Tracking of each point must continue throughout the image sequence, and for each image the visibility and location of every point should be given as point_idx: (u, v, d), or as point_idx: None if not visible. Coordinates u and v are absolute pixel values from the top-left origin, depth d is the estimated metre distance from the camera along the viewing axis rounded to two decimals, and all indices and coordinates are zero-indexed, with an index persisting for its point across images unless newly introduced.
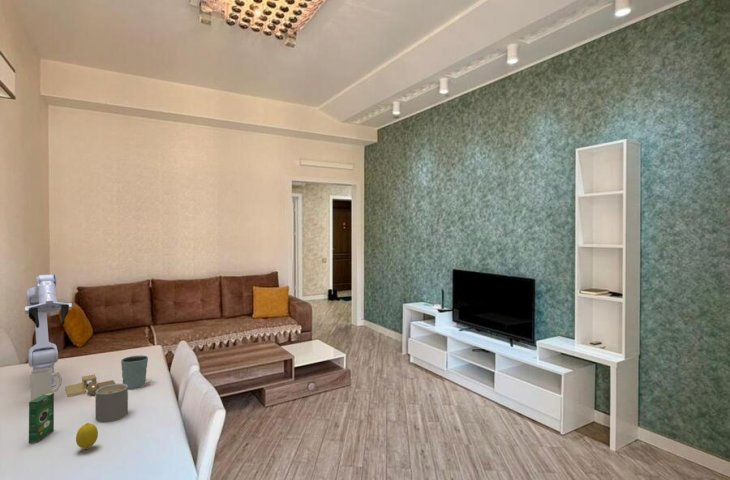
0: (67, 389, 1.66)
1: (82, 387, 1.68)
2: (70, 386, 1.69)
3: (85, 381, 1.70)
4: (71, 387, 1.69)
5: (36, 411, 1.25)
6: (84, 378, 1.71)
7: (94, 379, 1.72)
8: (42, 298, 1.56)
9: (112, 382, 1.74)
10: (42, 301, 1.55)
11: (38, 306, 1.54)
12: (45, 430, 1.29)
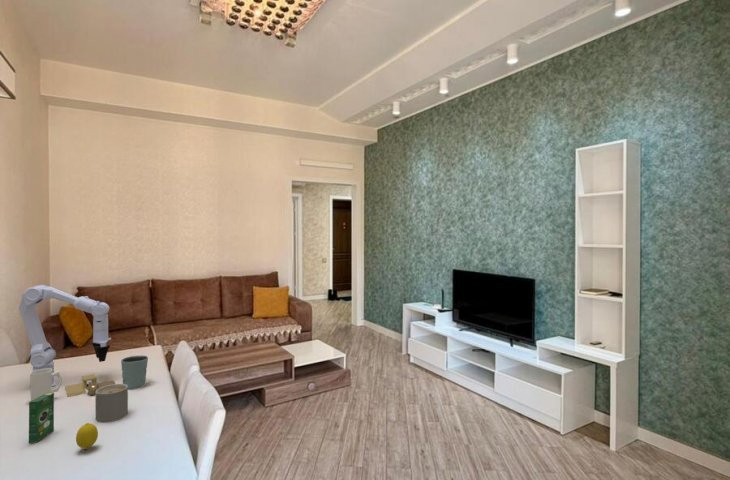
0: (67, 389, 1.66)
1: (82, 387, 1.68)
2: (70, 386, 1.69)
3: (85, 381, 1.70)
4: (71, 387, 1.69)
5: (36, 411, 1.25)
6: (84, 378, 1.71)
7: (94, 379, 1.72)
8: (106, 333, 1.80)
9: (112, 382, 1.74)
10: (106, 337, 1.80)
11: None
12: (45, 430, 1.29)
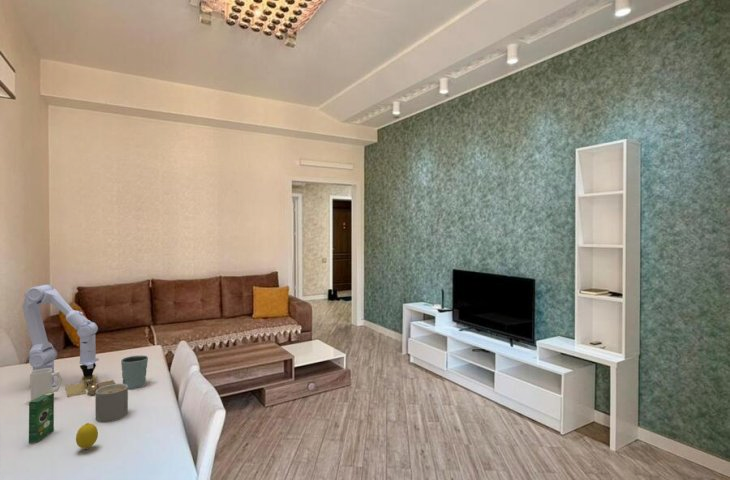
0: (67, 389, 1.66)
1: (82, 387, 1.68)
2: (70, 386, 1.69)
3: (85, 381, 1.70)
4: (71, 387, 1.68)
5: (36, 411, 1.25)
6: (84, 378, 1.71)
7: (94, 379, 1.72)
8: (94, 354, 1.76)
9: (112, 382, 1.74)
10: (93, 357, 1.76)
11: None
12: (45, 430, 1.29)
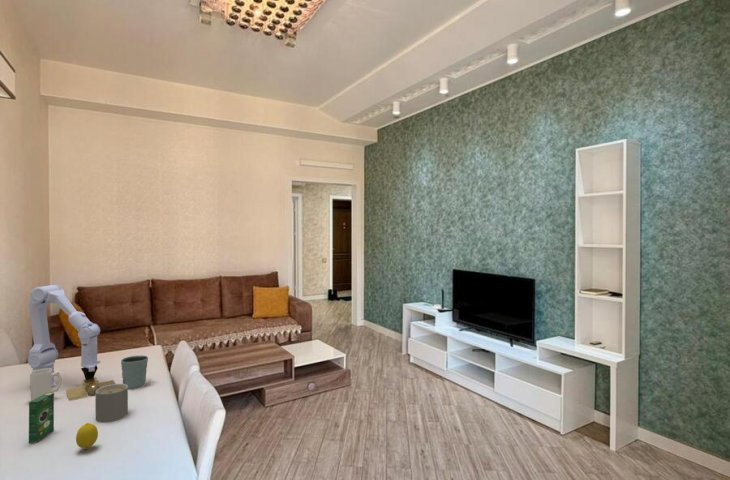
0: (68, 392, 1.62)
1: (84, 390, 1.65)
2: (71, 389, 1.66)
3: (87, 384, 1.66)
4: (72, 390, 1.65)
5: (36, 411, 1.25)
6: (86, 381, 1.68)
7: (96, 382, 1.68)
8: (95, 356, 1.72)
9: (112, 382, 1.74)
10: (95, 360, 1.72)
11: (94, 365, 1.71)
12: (45, 430, 1.29)
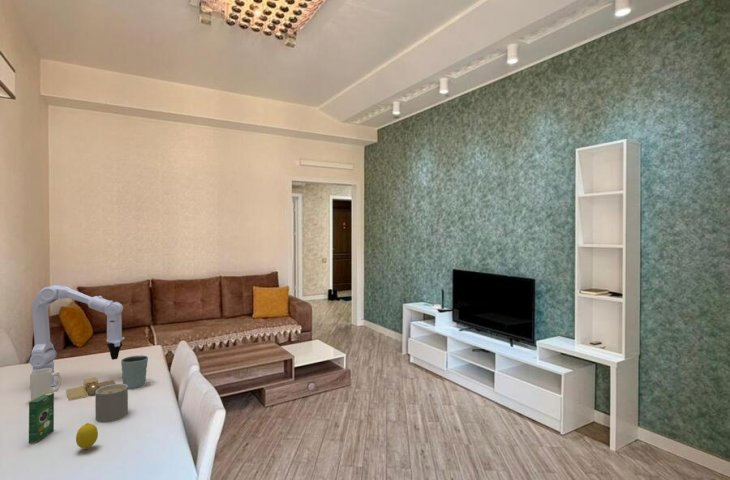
0: (68, 392, 1.62)
1: (84, 390, 1.65)
2: (71, 389, 1.66)
3: (87, 384, 1.66)
4: (72, 390, 1.65)
5: (36, 411, 1.25)
6: (86, 381, 1.68)
7: (96, 382, 1.68)
8: (120, 333, 1.80)
9: (112, 382, 1.74)
10: (120, 336, 1.80)
11: (119, 341, 1.79)
12: (45, 430, 1.29)
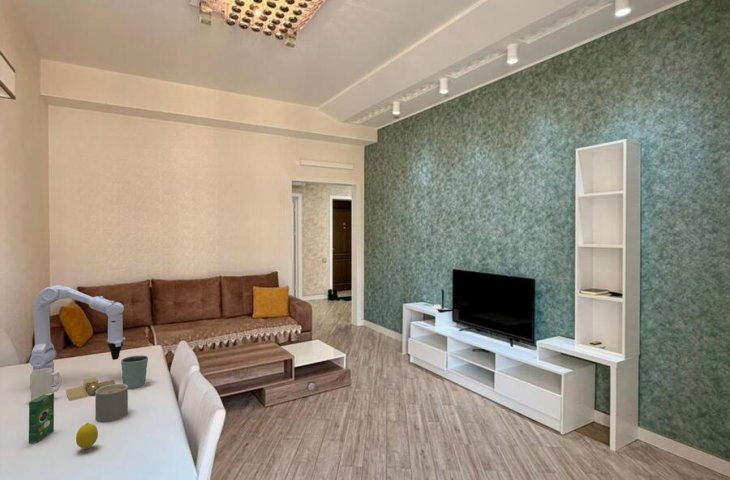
0: (68, 392, 1.62)
1: (84, 390, 1.65)
2: (71, 389, 1.66)
3: (87, 384, 1.66)
4: (72, 390, 1.65)
5: (36, 411, 1.25)
6: (86, 381, 1.68)
7: (96, 382, 1.68)
8: (121, 333, 1.80)
9: (112, 382, 1.74)
10: (121, 336, 1.80)
11: None
12: (45, 430, 1.29)
